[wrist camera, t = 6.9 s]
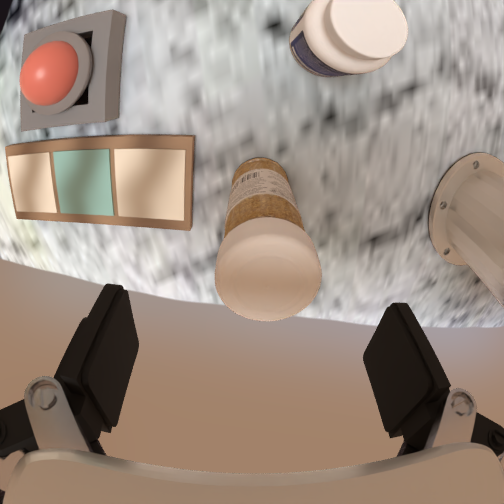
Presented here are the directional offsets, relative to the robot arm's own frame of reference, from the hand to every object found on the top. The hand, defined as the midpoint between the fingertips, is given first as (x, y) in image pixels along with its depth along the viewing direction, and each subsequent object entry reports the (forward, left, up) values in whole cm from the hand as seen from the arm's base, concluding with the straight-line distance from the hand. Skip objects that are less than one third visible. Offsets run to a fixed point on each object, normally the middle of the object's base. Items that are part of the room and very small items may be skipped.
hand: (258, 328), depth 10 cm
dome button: (+16, -10, -15) cm, 24 cm away
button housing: (+16, -10, -16) cm, 24 cm away
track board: (+15, 0, -16) cm, 22 cm away
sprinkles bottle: (0, 0, -16) cm, 16 cm away
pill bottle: (-4, -12, -16) cm, 20 cm away
